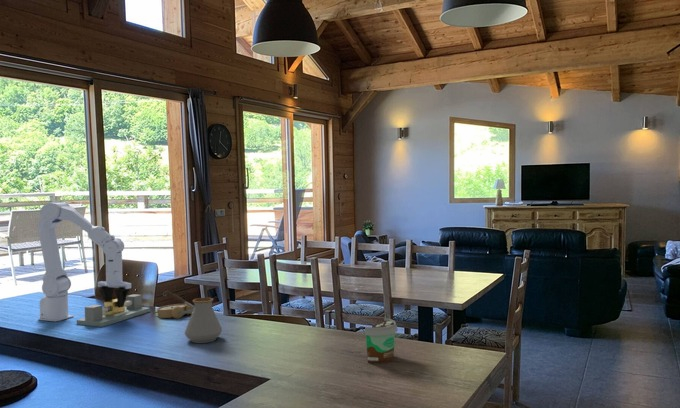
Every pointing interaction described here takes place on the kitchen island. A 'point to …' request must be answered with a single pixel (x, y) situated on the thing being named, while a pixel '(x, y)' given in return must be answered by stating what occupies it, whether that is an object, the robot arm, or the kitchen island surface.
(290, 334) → the kitchen island surface
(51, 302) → the robot arm
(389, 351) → the food container
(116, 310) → the block
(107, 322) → the long grey base plate
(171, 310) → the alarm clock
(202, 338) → the coffee pot
